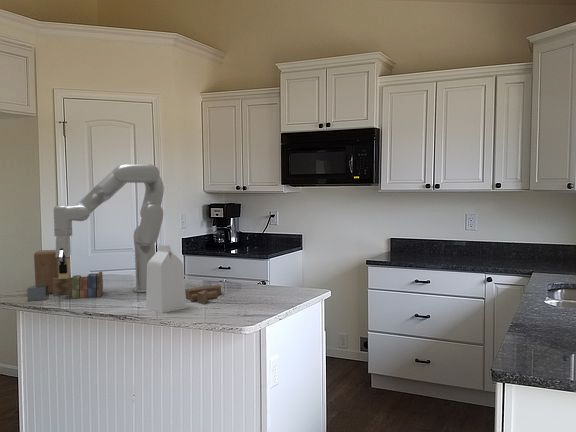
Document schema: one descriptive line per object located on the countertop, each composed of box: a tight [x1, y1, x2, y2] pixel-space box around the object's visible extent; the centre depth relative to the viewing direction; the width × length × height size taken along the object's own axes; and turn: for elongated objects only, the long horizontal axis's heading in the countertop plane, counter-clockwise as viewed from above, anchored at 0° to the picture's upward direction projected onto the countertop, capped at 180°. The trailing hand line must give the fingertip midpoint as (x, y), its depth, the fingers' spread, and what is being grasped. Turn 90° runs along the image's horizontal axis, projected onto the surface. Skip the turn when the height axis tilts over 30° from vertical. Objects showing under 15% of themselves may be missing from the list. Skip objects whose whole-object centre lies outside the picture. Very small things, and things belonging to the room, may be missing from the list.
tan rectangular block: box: [58, 256, 72, 279], centre depth 248 cm, size 4×6×9 cm, turn 12°
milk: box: [145, 243, 188, 314], centre depth 222 cm, size 12×12×26 cm
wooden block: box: [33, 249, 59, 295], centre depth 262 cm, size 10×10×20 cm
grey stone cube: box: [26, 285, 50, 302], centre depth 246 cm, size 8×6×6 cm
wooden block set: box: [185, 284, 222, 305], centre depth 240 cm, size 17×6×18 cm
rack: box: [52, 271, 104, 300], centre depth 252 cm, size 22×12×10 cm, turn 102°
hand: (64, 271), depth 248 cm, fingers closed on tan rectangular block, 6 cm apart
